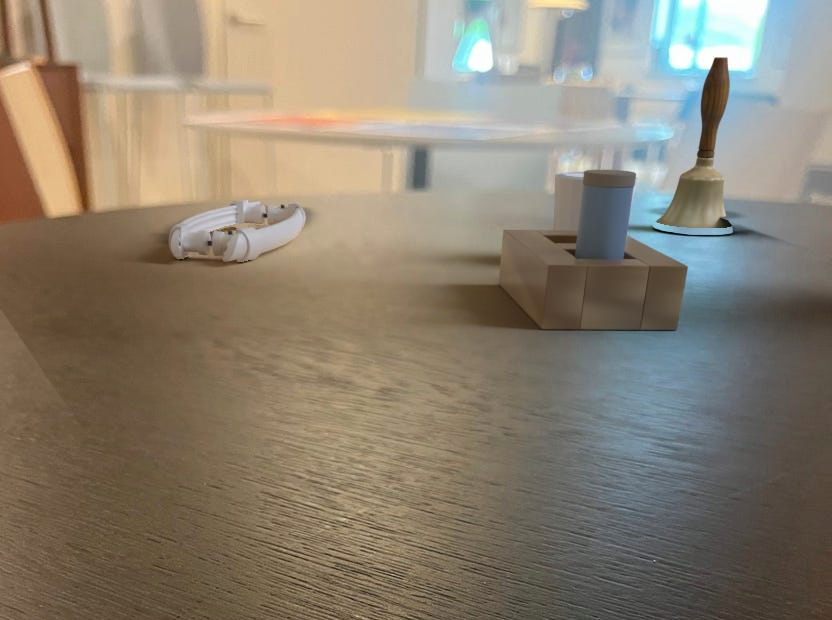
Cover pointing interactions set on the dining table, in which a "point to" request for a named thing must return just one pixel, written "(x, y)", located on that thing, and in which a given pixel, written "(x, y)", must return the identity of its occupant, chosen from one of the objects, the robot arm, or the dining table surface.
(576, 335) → the dining table surface
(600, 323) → the holder
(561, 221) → the white faceted cup
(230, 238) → the white oval frame
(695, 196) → the hand bell
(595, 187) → the cylindrical bottle
